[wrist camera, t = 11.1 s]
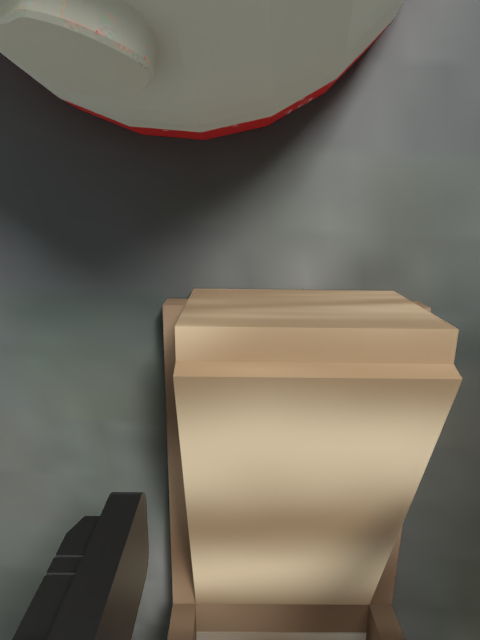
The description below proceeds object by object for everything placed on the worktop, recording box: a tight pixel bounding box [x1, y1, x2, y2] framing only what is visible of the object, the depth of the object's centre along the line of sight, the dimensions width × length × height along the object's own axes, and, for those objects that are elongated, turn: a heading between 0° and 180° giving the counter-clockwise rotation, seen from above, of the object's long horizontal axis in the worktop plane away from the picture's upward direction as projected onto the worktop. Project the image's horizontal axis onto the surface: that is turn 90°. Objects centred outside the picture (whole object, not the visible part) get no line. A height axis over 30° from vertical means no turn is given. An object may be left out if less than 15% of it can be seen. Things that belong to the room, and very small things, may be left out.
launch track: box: [162, 289, 462, 640], centre depth 15 cm, size 20×9×9 cm, turn 179°
